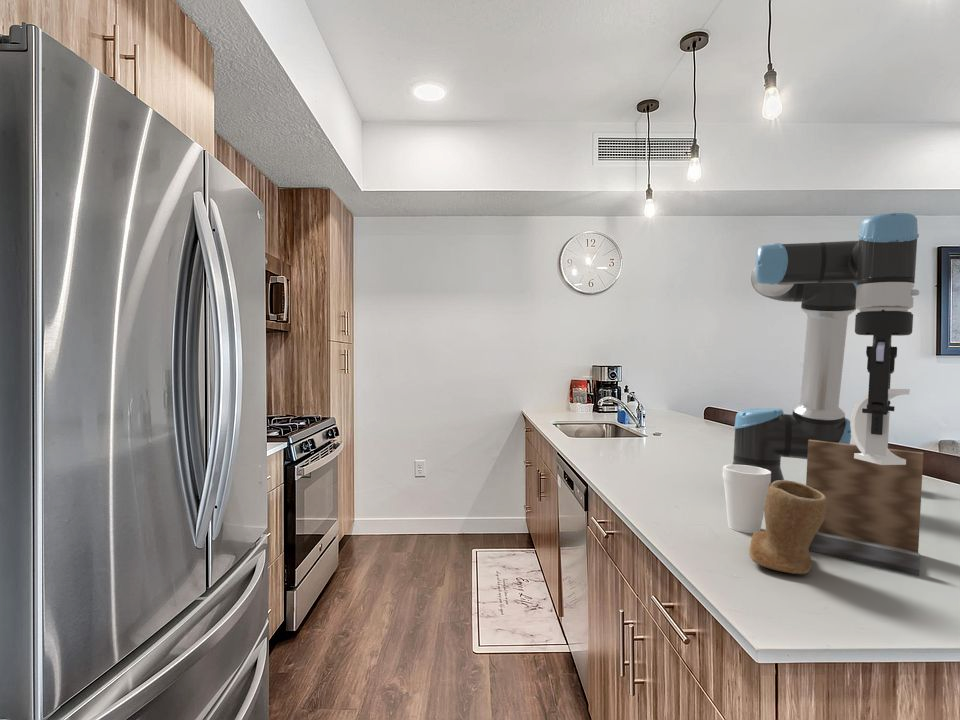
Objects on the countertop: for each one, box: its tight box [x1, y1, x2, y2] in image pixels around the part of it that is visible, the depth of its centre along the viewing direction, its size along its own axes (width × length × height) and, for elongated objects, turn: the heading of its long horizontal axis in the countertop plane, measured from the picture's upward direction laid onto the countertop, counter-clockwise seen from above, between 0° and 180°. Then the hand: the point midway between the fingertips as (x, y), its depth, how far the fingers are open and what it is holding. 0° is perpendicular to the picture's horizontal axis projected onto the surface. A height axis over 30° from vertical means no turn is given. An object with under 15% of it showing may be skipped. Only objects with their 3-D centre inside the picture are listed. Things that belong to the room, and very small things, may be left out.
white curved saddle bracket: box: [850, 388, 910, 465], centre depth 86 cm, size 5×6×12 cm
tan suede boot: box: [748, 479, 828, 575], centre depth 97 cm, size 15×12×15 cm
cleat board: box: [805, 440, 924, 576], centre depth 104 cm, size 19×14×20 cm
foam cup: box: [722, 464, 771, 534], centre depth 116 cm, size 10×9×13 cm
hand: (876, 451), depth 87 cm, fingers closed on white curved saddle bracket, 6 cm apart
